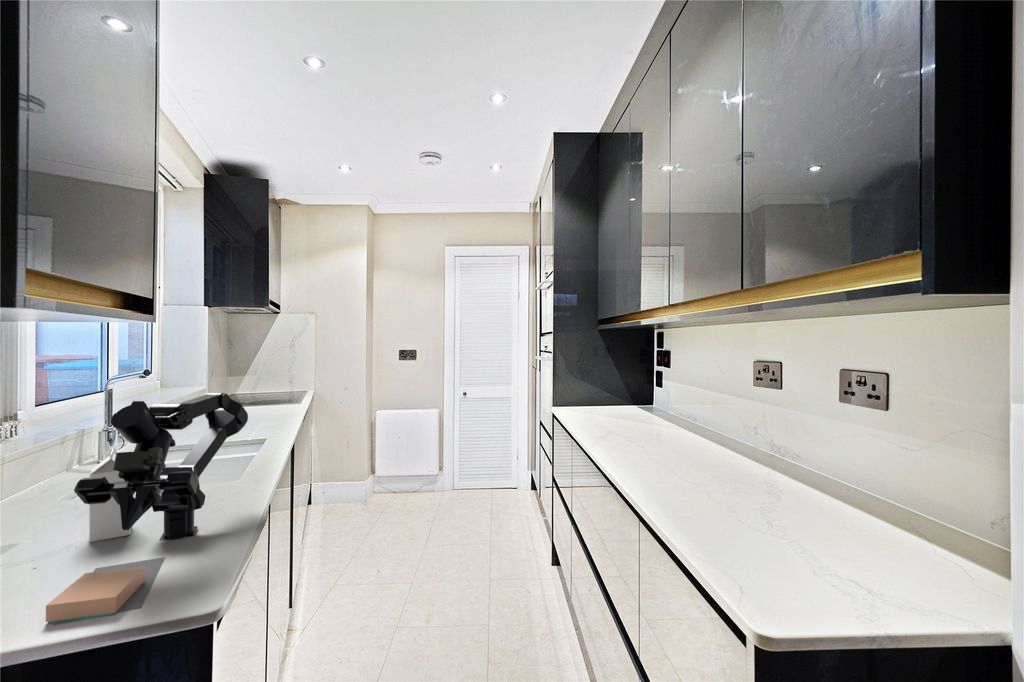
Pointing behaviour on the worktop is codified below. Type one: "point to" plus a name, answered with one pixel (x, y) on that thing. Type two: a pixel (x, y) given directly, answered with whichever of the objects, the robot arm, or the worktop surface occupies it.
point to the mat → (141, 593)
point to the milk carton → (106, 506)
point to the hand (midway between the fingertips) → (125, 529)
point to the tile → (95, 594)
